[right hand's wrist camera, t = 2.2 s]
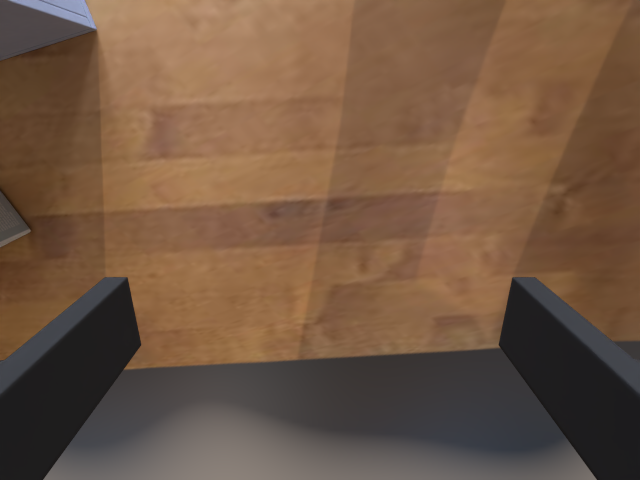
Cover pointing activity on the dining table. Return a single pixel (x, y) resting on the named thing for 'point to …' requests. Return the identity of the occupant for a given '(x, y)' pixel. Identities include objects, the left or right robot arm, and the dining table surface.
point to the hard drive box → (10, 223)
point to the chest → (40, 24)
